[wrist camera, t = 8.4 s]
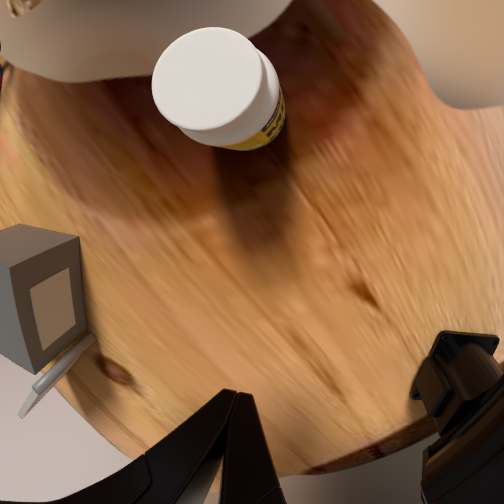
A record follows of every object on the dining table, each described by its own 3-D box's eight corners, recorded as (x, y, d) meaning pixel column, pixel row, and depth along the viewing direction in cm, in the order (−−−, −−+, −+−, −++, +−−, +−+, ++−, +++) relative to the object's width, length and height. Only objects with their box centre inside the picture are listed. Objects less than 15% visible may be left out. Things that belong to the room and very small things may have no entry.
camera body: (79, 236, 21) (0, 272, 13) (89, 335, 24) (32, 388, 16) (19, 223, 22) (-50, 249, 14) (31, 311, 25) (-24, 349, 17)
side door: (87, 328, 23) (30, 380, 16) (97, 339, 23) (42, 393, 16) (58, 367, 26) (14, 410, 18) (66, 375, 26) (23, 420, 19)
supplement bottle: (287, 150, 17) (276, 141, 9) (208, 153, 18) (141, 151, 10) (284, 73, 16) (271, 11, 8) (207, 78, 17) (143, 31, 9)
